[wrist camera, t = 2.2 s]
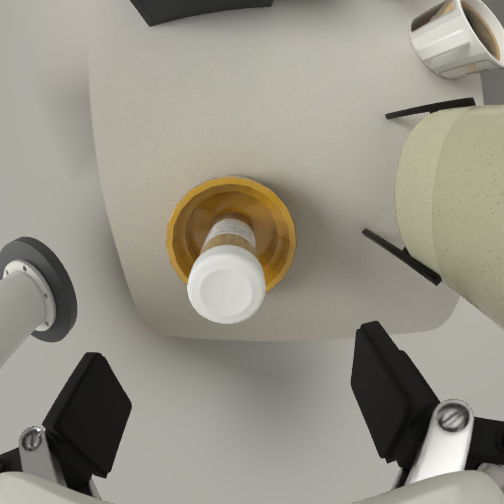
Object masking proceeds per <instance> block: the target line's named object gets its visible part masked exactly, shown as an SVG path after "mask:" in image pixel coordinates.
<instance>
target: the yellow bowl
mask: <svg viewBox="0 0 504 504" xmlns="http://www.w3.org/2000/svg"><path fill="white" fill-rule="evenodd" d="M227 212H236V213H240V214H242V215H244V216H246V217H247V219H248V220H249V221H250V222H251V224H252V226H253V230H254V237H255V241H256V246H257V255H258V261H259V263H260V265H261V267H262V269H263V273H264V278H265V284H266V293H267V292H269V291H270V290H271V289H272V288H273V287H274V286H275V285H277V284H278V283H279V282H280V281H281V280H282V279H283V277H284V276H285V274H286V273H287V271H288V269H289V268H290V266H291V264H292V262H293V258H294V253H295V249H296V244H297V243H296V232H295V225H294V222H293V220H292V217H291V215H290V213H289V211H288V209H287V206H286V205H285V204H284V203H283V202H282V201H281V200H280V199H279V198H278V197H277V195H276V194H275V193H274V192H273V191H272V190H271V189H269V188H268V187H267V186H265V185H264V184H262V183H260V182H258V181H256V180H254V179H252V178H249V177H243V176H237V175H227V176H221V177H215V178H212V179H210V180H208V181H206V182H204V183H203V184H201V185H199V186H197V187H195V188H194V189H192V190H190V191H189V192H188V193H187V194H186V195H185V197H184V198H183V199H182V200H181V201H180V202H179V203H178V204H177V205H176V207H175V209H174V211H173V214H172V216H171V218H170V220H169V223H168V227H167V239H166V246H167V250H168V254H169V258H170V262H171V264H172V266H173V268H174V269H175V271H176V272H177V274H178V276H179V277H180V279H181V280H182V281H183V282H184V283H185V284H187V285H188V279H189V275H190V272H191V270H192V267H193V265H194V263H195V261H196V260H197V258H198V257H199V256H200V253H201V250H202V248H203V245H204V243H205V241H206V238H207V236H208V234H209V232H210V228H211V225H212V224H213V222H214V220H215V219H216V218H217V217H218V216H220V215H222V214H224V213H227Z"/></svg>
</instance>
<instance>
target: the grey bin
mask: <svg viewBox="0 0 504 504" xmlns="http://www.w3.org/2000/svg"><path fill="white" fill-rule="evenodd" d="M130 1H131V2H132V4H133V5H134V6H135V8H136V9H137V10H138V12H139V13H140V15H141V16H142V17H143V19H144V20H145V21H146V23H147V24H148V25H149V27H150V26H153V25H157V24H160V23H164V22H168V21H172V20H176V19H180V18H184V17H189V16H194V15H199V14H204V13H210V12H217V11H224V10H232V9H241V8H253V7H271V5H272V1H273V0H130Z"/></svg>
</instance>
